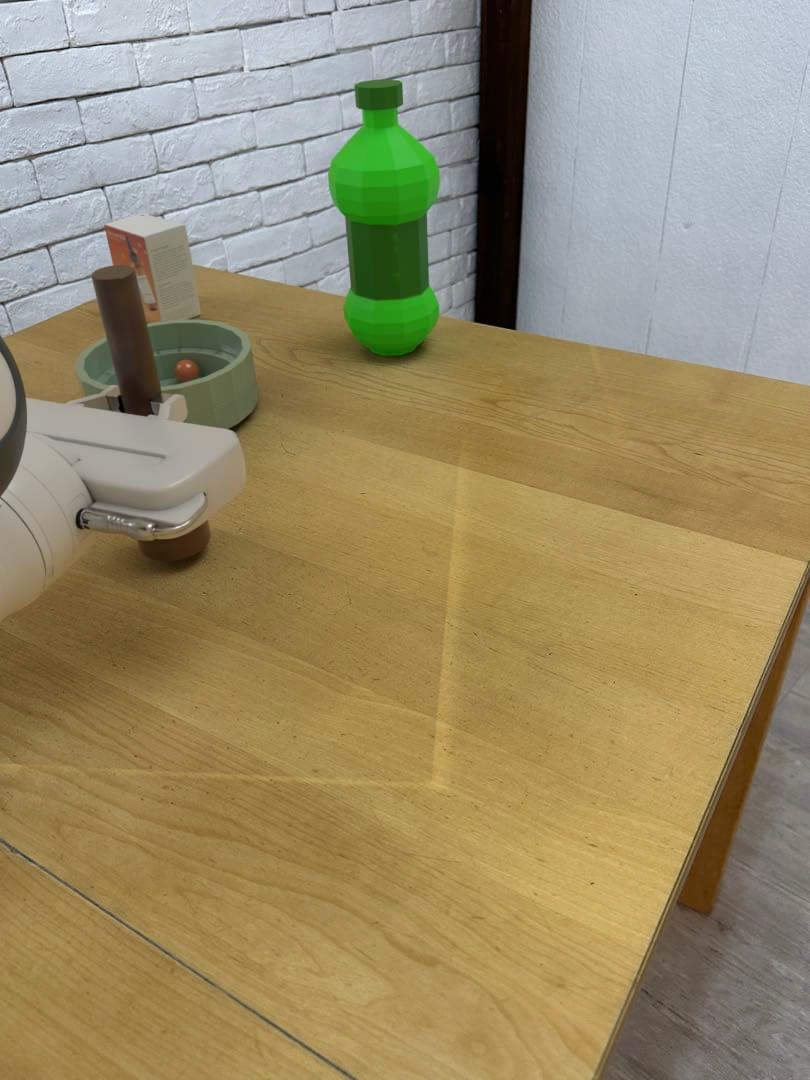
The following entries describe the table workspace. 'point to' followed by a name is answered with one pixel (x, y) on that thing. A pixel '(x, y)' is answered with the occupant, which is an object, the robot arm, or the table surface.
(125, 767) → the table surface
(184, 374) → the bead
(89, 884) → the table surface
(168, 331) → the bowl
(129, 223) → the small box
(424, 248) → the plastic bottle
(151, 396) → the pestle
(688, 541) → the table surface
